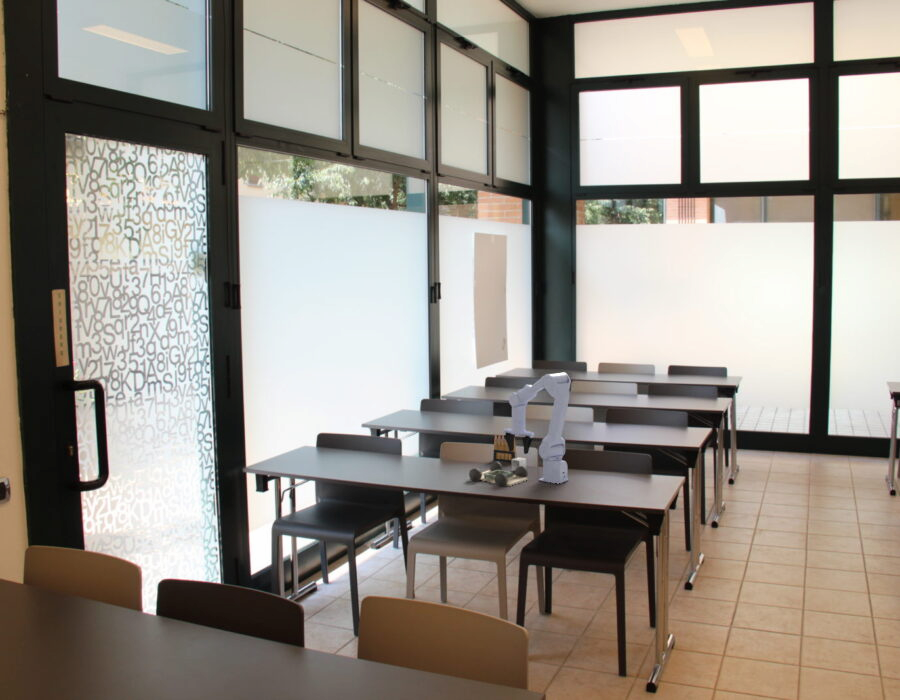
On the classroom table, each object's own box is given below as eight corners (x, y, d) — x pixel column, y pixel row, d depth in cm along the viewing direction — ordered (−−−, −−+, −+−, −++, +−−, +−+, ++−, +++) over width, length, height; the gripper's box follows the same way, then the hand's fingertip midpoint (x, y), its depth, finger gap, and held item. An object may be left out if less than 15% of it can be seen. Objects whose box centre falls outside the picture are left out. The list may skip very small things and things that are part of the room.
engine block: (526, 470, 362) (526, 458, 362) (519, 472, 358) (519, 460, 358) (518, 468, 365) (518, 457, 364) (511, 471, 361) (511, 459, 360)
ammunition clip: (516, 462, 376) (516, 435, 374) (515, 463, 374) (514, 436, 373) (495, 459, 381) (494, 433, 379) (493, 460, 379) (492, 434, 378)
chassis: (530, 479, 347) (530, 467, 346) (506, 487, 335) (506, 475, 334) (491, 471, 360) (490, 460, 359) (467, 479, 348) (467, 467, 347)
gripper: (538, 421, 357) (538, 452, 359) (510, 417, 367) (510, 448, 368) (528, 423, 352) (528, 456, 354) (500, 419, 361) (500, 451, 363)
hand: (518, 452), depth 361 cm, fingers open, 7 cm apart
